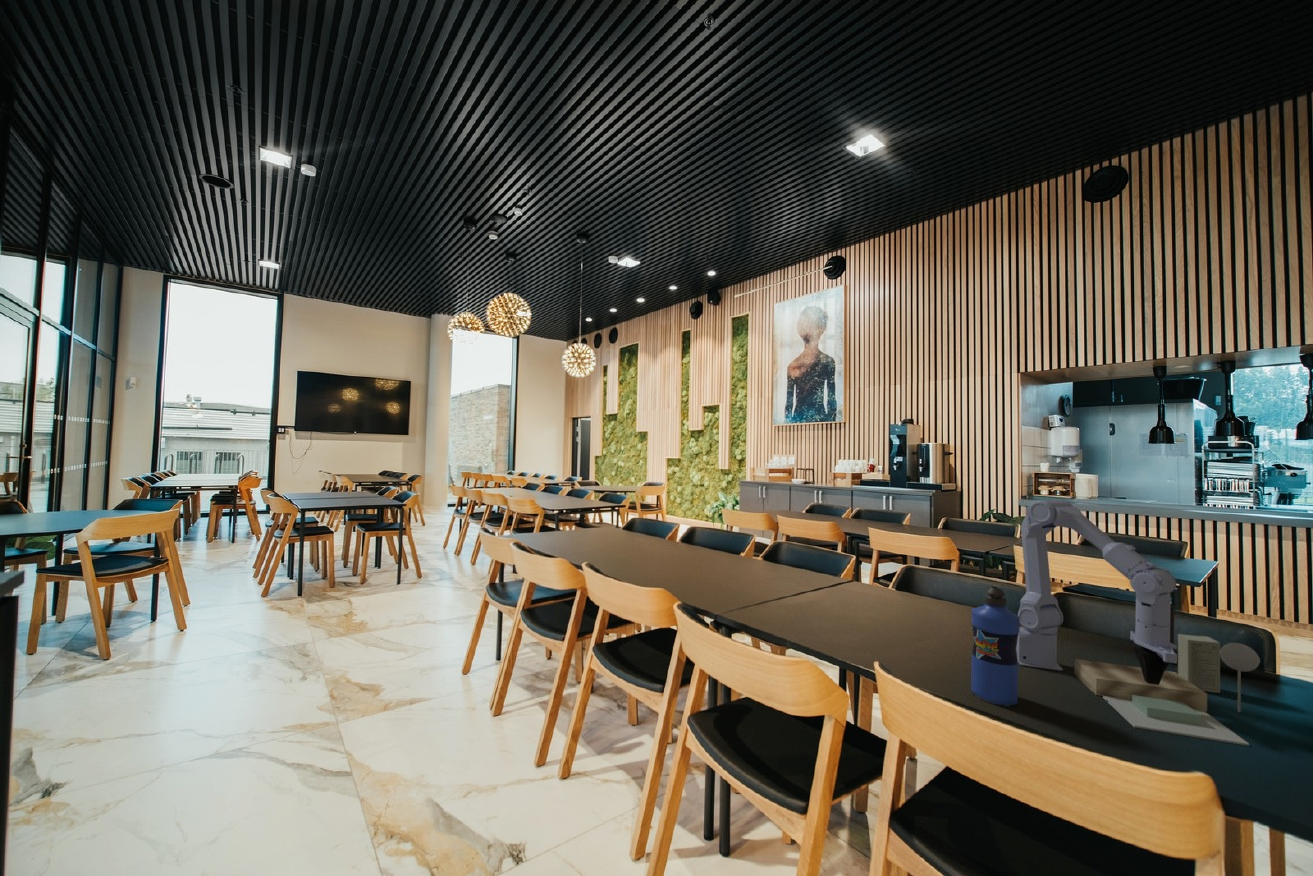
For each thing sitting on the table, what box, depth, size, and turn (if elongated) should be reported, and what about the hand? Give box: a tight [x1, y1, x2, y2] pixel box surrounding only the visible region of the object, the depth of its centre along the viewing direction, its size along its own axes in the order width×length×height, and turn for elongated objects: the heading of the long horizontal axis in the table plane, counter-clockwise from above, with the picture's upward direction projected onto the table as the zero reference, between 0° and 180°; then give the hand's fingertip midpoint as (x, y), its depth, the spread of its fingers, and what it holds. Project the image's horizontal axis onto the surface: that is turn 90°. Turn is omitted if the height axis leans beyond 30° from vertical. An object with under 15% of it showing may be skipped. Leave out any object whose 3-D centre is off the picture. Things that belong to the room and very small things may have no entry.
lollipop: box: [1219, 642, 1261, 713], centre depth 116 cm, size 6×6×15 cm
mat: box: [1101, 695, 1250, 747], centre depth 112 cm, size 18×14×1 cm
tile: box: [1132, 695, 1201, 725], centre depth 113 cm, size 9×6×2 cm, turn 71°
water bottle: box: [970, 586, 1021, 706], centre depth 120 cm, size 9×9×25 cm
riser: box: [1074, 658, 1208, 713], centre depth 124 cm, size 20×12×4 cm, turn 71°
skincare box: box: [1177, 633, 1221, 694], centre depth 128 cm, size 6×4×12 cm
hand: (1151, 683), depth 118 cm, fingers closed
